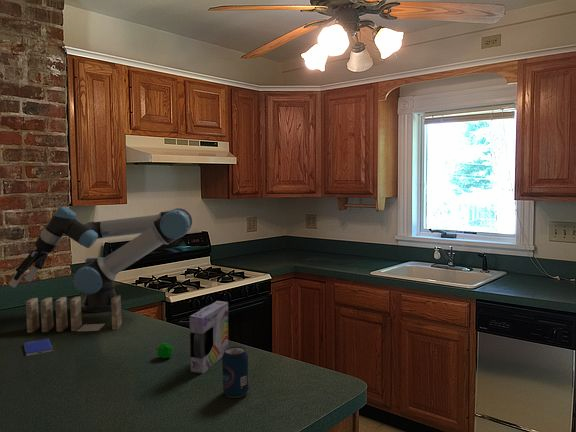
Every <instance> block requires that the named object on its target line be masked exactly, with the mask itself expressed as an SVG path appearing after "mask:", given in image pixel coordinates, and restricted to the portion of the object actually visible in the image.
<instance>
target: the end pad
mask: <svg viewBox="0 0 576 432" xmlns="http://www.w3.org/2000/svg"><path fill="white" fill-rule="evenodd" d="M104 326H105V323H92V324H90V323H89V324H86V323H85V324H82V327H81V328H79V329H78V330H77V331H76V332H97V331H98V332H99V331H100V330H101V329H102V328H103V327H104Z"/></svg>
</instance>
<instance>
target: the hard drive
mask: <svg viewBox="0 0 576 432" xmlns="http://www.w3.org/2000/svg"><path fill="white" fill-rule="evenodd" d="M51 343H52V342H51V341H50V339H49V338H43V339H37V340H32V341H27V342H24V343H23V348H24V352H26V353H25V356H26V357H29V356H35V355H40V354H46V352H47V353H52V352H54V349H53V345H52V344H51ZM51 351H52V352H51Z"/></svg>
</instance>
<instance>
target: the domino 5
mask: <svg viewBox="0 0 576 432" xmlns="http://www.w3.org/2000/svg"><path fill="white" fill-rule="evenodd" d="M121 296H122V295H118V294H116V295H115V296H114V297H113V298H112V299H111V308H112V310H111V325H112V330H119V329H120V327H122V325H123V323H122V322H123V321H122V320H123V319H122V299H121Z"/></svg>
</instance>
